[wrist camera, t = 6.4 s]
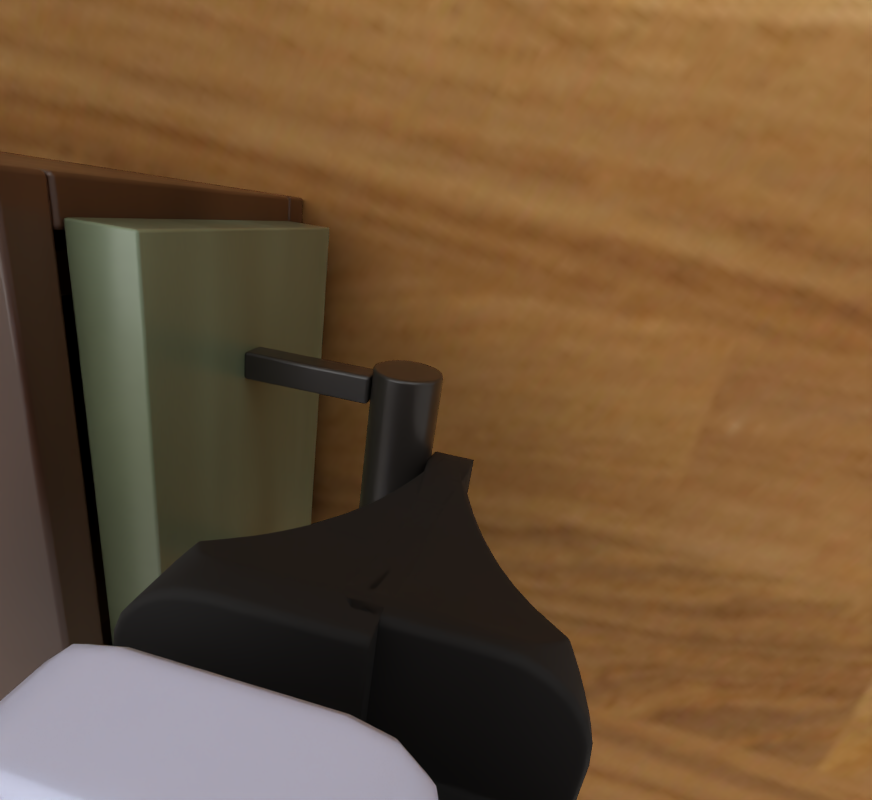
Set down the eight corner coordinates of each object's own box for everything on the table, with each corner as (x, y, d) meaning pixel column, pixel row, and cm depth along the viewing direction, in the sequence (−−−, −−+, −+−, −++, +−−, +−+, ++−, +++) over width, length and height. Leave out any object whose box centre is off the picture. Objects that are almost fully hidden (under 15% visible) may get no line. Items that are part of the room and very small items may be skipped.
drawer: (483, 252, 13) (425, 278, 6) (427, 581, 16) (356, 805, 10) (-67, 163, 15) (-513, 118, 9) (-7, 470, 19) (-289, 596, 12)
